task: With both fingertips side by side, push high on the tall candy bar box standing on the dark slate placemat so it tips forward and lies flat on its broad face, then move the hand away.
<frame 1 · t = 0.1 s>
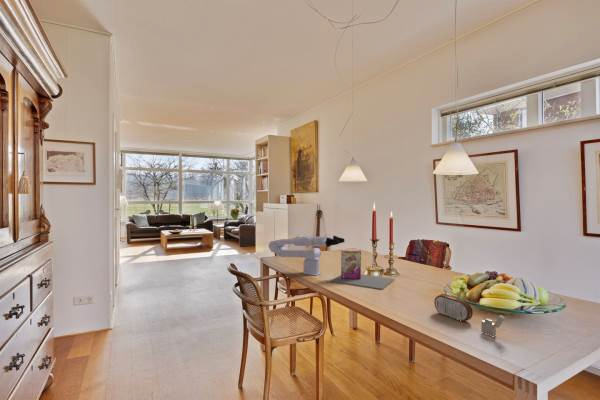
hand: (341, 241, 188), 22 cm above the table, tool horizontal, fingers open, 7 cm apart
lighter: (492, 336, 110), on the table
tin: (452, 318, 127), on the table
slate placemat: (362, 280, 181), on the table
candy bar box: (350, 278, 185), resting on slate placemat
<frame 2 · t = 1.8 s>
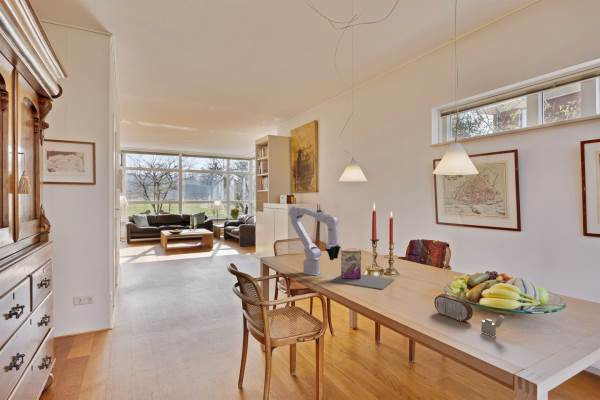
hand: (333, 259, 191), 10 cm above the table, tool pointing down, fingers open, 5 cm apart
nothing on the table moved.
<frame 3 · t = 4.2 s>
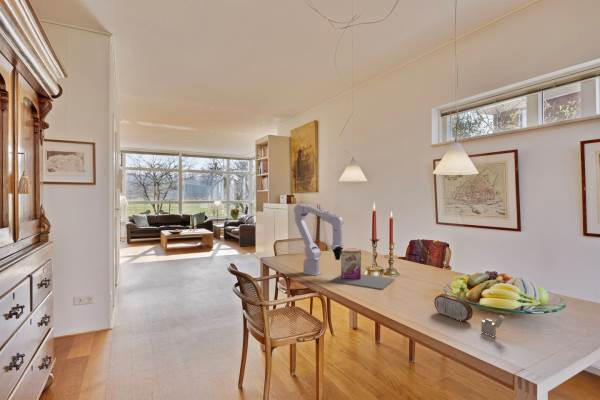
hand: (337, 259, 189), 10 cm above the table, tool pointing down, fingers closed
candy bar box: (350, 278, 185), resting on slate placemat, touching gripper
everything else where it was.
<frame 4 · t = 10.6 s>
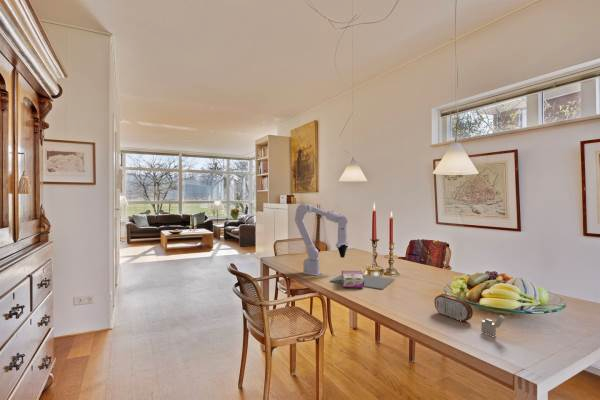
hand: (342, 257, 196), 10 cm above the table, tool pointing down, fingers closed
candy bar box: (351, 274, 183), point 3 cm above the table, touching slate placemat
everything else where it was.
at the end: candy bar box tilted 90°; candy bar box inside the target area on the slate placemat (5.3 cm from its centre), point 3.0 cm above the slate placemat's base; the gripper is holding nothing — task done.
